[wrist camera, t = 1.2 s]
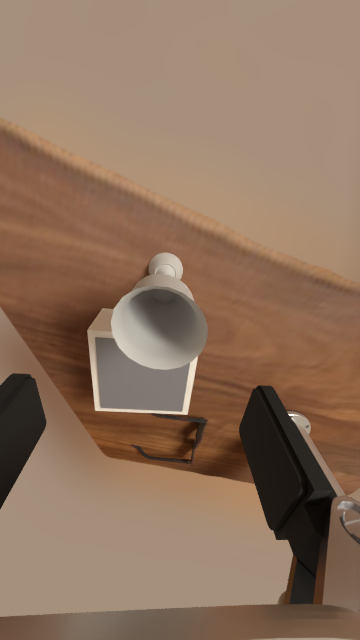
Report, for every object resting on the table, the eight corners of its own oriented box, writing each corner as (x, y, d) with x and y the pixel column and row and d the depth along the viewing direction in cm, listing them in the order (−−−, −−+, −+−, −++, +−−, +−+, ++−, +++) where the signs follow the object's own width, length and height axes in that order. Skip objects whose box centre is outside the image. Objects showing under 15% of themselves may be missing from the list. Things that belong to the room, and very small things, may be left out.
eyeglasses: (191, 450, 53) (193, 472, 48) (130, 446, 51) (126, 468, 47) (205, 409, 46) (209, 430, 42) (136, 402, 45) (132, 423, 40)
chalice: (131, 267, 31) (90, 327, 15) (165, 234, 29) (159, 262, 13) (165, 301, 34) (161, 383, 18) (199, 273, 32) (227, 336, 16)
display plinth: (185, 384, 42) (187, 416, 36) (106, 379, 41) (94, 412, 34) (195, 315, 35) (201, 339, 29) (102, 308, 34) (86, 331, 28)
